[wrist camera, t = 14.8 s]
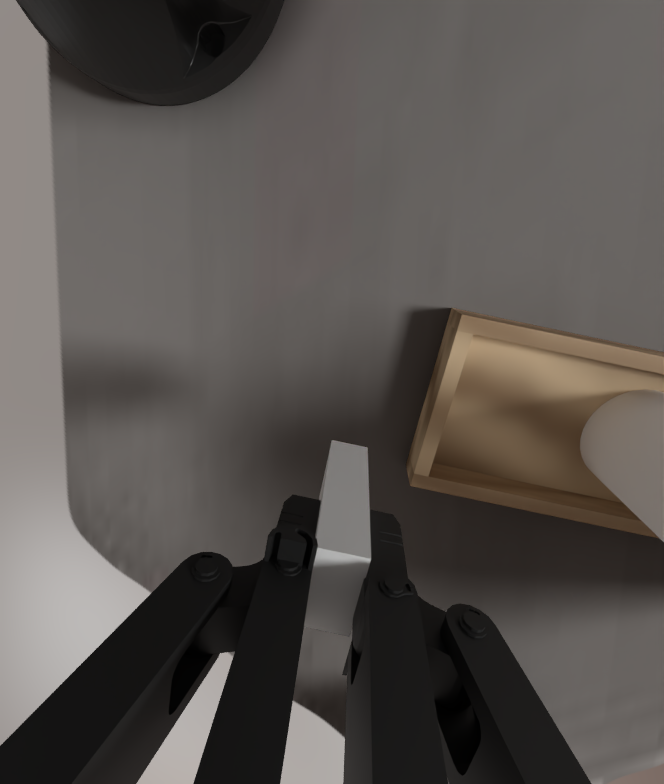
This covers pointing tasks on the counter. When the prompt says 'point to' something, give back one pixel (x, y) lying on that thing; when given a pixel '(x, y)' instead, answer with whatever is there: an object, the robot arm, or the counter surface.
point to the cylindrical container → (630, 452)
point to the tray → (524, 417)
